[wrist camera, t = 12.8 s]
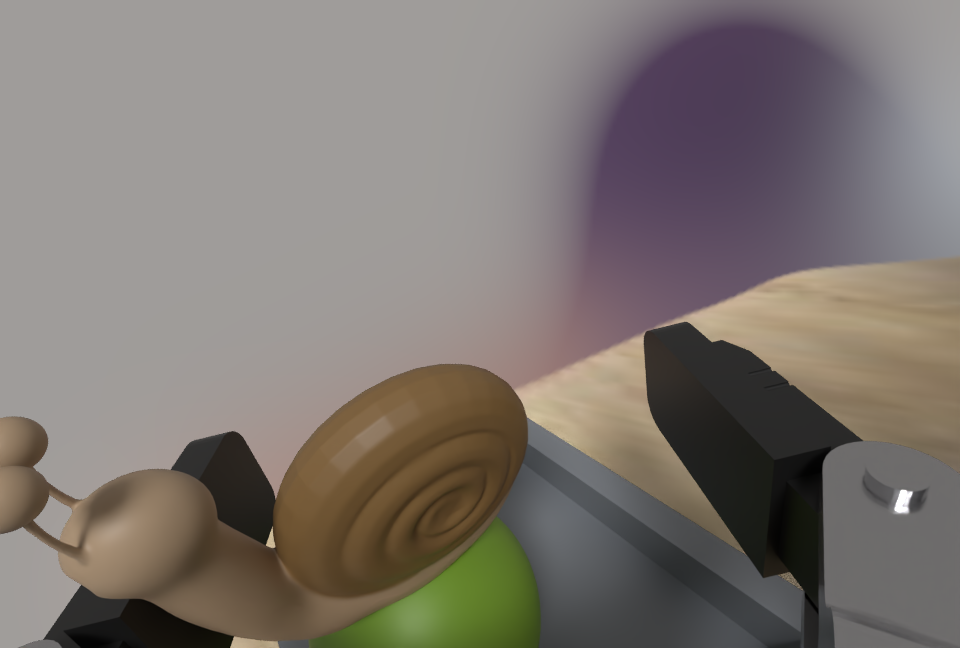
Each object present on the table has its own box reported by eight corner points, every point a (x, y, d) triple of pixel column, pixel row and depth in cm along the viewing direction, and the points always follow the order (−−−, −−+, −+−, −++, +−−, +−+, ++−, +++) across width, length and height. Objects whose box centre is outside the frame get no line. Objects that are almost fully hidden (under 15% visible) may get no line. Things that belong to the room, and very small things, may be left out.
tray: (520, 450, 22) (510, 407, 20) (863, 698, 12) (881, 640, 10) (286, 619, 17) (256, 575, 16) (532, 1311, 7) (497, 1328, 5)
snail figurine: (272, 649, 13) (-29, 308, 6) (461, 518, 16) (434, 176, 8) (353, 895, 10) (-131, 890, 2) (575, 673, 13) (705, 333, 5)
